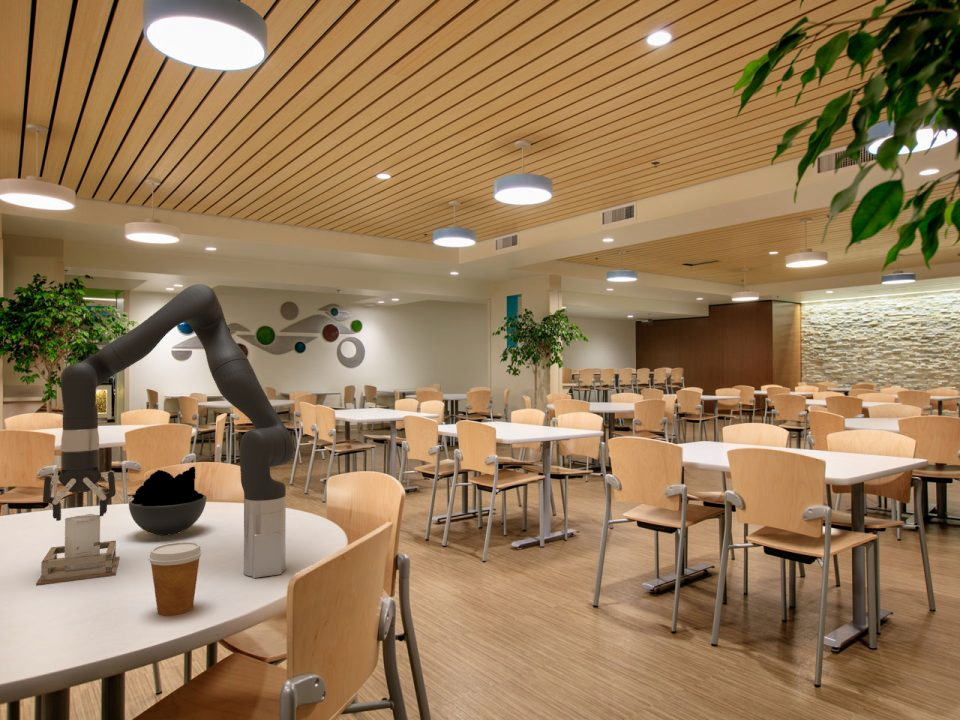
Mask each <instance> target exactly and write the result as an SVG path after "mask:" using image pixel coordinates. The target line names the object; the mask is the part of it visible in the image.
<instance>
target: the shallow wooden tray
mask: <svg viewBox="0 0 960 720" xmlns="http://www.w3.org/2000/svg"><path fill="white" fill-rule="evenodd" d="M116 546H117V540H110V541H109V540H107V541H100V550H102V549H103V550H104V549H107V550H106V552H103V553H101V552H100V554H98V555H90V556H81V557H72V558H65V557H59V558H58V554H65V545H62V546H61V545H59V546H51V547H50V549H49V550H48V551H47V553H46V555H45V556H44V558H43V560H42V561H41V565H40V566H41V570H40V571H41V573H40V574H41V575H40V576H41V581H49V580H57V579H65V578H73V577H81V576H89V575H97V574H105V573H112V569H113V566H114V562H115V558H116V557H117V556H116V555H117V554H116V553H117V551H116V550H117V548H116ZM102 561H106V566H101V567H92V568H84V569H76V570H68V571H59V572H53V571H54V569H55V567H60V566H68V565H77V564H85V563H94V562H102Z"/></svg>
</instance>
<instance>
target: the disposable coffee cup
mask: <svg viewBox="0 0 960 720" xmlns="http://www.w3.org/2000/svg"><path fill="white" fill-rule="evenodd" d="M202 554H203V550H202V549H201V546H200V544H199V543H197V542H193V541H180V542H171V543H165V544H161V545H158V546H155V547H154V548H152V549H151V551H150V554H149V555H148V557H147V559H148V561H149V563H150V565H151V574H152V580H153V581H152V582H153V588H154V589H153V590H154V594H155V595H154V596H155V602H156V603H155V604H156V610H157V614H158V615H161V616H175V615H181V614H184V613H186V612H189V611H191V610H192V609H193V608H194V601H195V595H196V587H197V579H198V572H199V565H200V564H199V563H200V558H201V556H202Z"/></svg>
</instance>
